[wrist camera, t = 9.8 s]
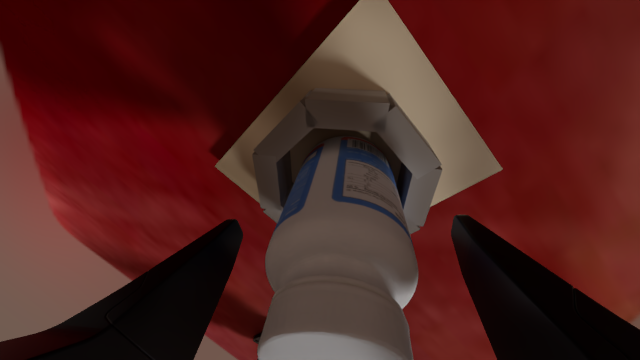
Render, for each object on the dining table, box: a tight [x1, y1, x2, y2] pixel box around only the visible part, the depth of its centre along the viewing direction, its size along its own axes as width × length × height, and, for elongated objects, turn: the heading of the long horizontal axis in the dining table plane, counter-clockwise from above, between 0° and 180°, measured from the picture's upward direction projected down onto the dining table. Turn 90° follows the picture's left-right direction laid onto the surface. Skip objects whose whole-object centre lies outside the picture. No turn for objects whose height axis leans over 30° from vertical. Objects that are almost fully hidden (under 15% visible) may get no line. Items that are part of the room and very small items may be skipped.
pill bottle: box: [257, 136, 418, 360], centre depth 10 cm, size 6×5×10 cm
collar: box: [215, 0, 503, 234], centre depth 13 cm, size 13×11×4 cm
